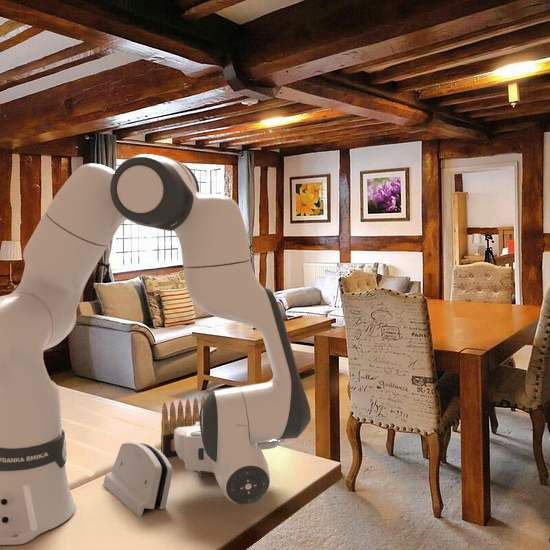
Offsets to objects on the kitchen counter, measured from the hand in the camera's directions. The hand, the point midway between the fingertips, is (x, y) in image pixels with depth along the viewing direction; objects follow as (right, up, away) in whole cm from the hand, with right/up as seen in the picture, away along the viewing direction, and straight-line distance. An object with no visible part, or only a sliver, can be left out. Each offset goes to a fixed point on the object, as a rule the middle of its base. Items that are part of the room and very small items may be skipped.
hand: (221, 422), depth 118 cm
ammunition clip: (-9, -9, +8) cm, 15 cm away
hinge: (-14, -11, -11) cm, 21 cm away
